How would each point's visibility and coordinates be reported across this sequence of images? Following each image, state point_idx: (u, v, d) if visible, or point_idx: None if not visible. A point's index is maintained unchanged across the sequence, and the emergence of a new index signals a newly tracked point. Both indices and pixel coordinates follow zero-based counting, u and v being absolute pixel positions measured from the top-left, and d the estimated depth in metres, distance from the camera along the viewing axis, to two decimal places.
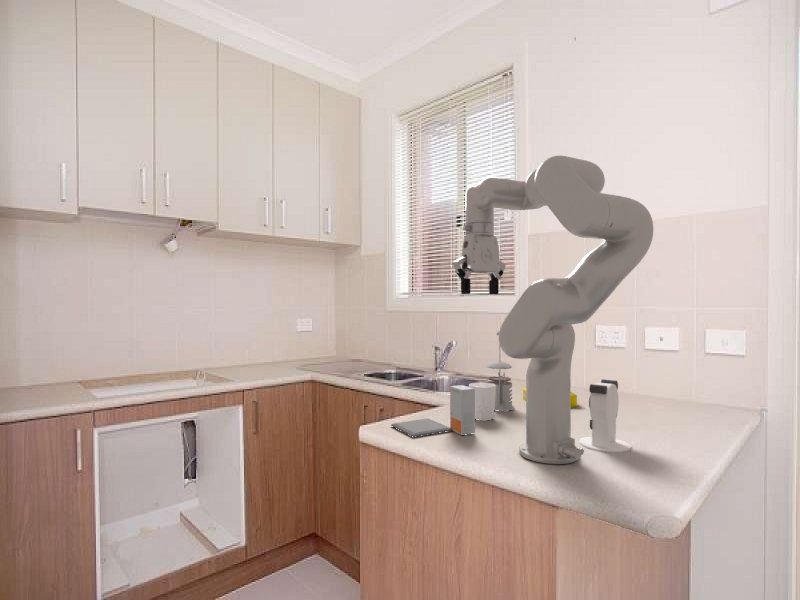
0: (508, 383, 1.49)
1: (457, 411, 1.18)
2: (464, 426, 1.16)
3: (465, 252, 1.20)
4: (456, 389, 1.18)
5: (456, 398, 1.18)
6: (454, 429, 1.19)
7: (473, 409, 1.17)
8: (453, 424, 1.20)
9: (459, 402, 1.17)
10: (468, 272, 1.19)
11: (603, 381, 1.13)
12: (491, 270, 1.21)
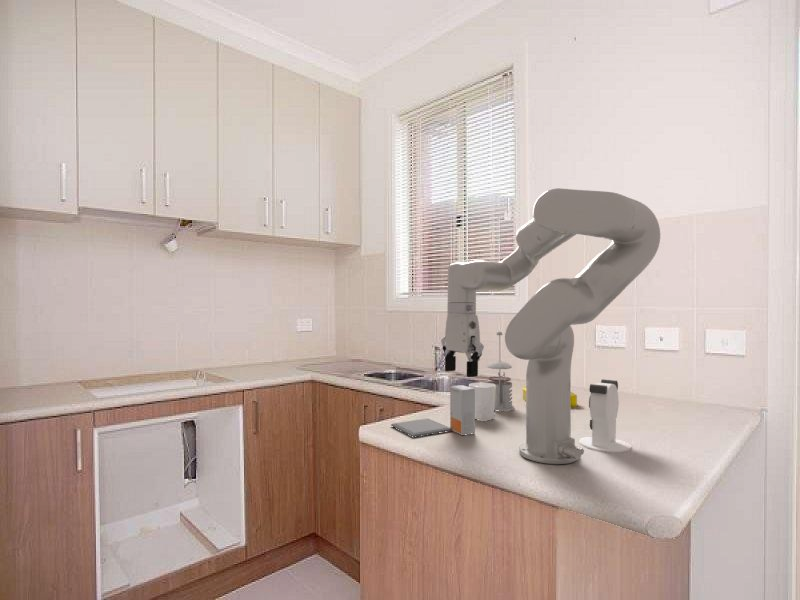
0: (508, 383, 1.49)
1: (457, 411, 1.17)
2: (464, 426, 1.16)
3: (473, 333, 1.15)
4: (456, 389, 1.18)
5: (456, 398, 1.18)
6: (454, 429, 1.19)
7: (473, 409, 1.17)
8: (453, 424, 1.20)
9: (459, 402, 1.17)
10: None
11: (603, 381, 1.13)
12: None
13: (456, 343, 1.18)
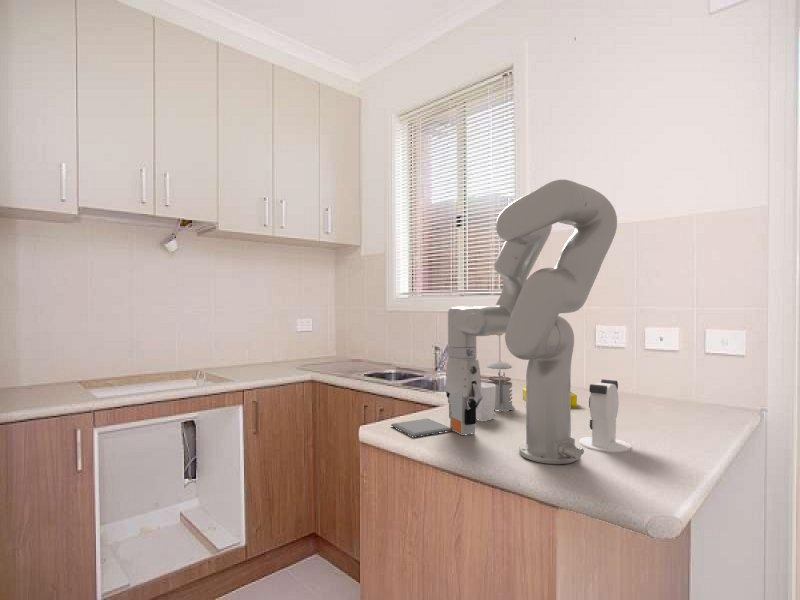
0: (508, 383, 1.49)
1: (457, 411, 1.18)
2: (464, 426, 1.16)
3: (474, 378, 1.15)
4: None
5: (456, 398, 1.18)
6: (454, 429, 1.19)
7: None
8: (453, 424, 1.20)
9: (459, 402, 1.17)
10: None
11: (603, 381, 1.13)
12: None
13: (457, 388, 1.17)
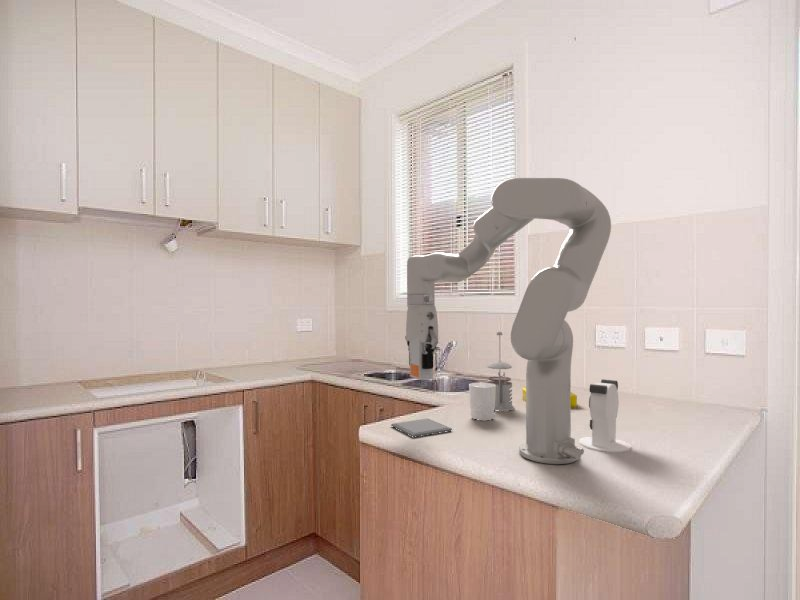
0: (508, 383, 1.49)
1: (416, 356, 1.21)
2: (422, 370, 1.20)
3: (431, 324, 1.18)
4: None
5: (414, 344, 1.21)
6: (413, 375, 1.22)
7: None
8: (412, 370, 1.23)
9: (417, 347, 1.20)
10: None
11: (603, 381, 1.13)
12: None
13: (415, 334, 1.21)
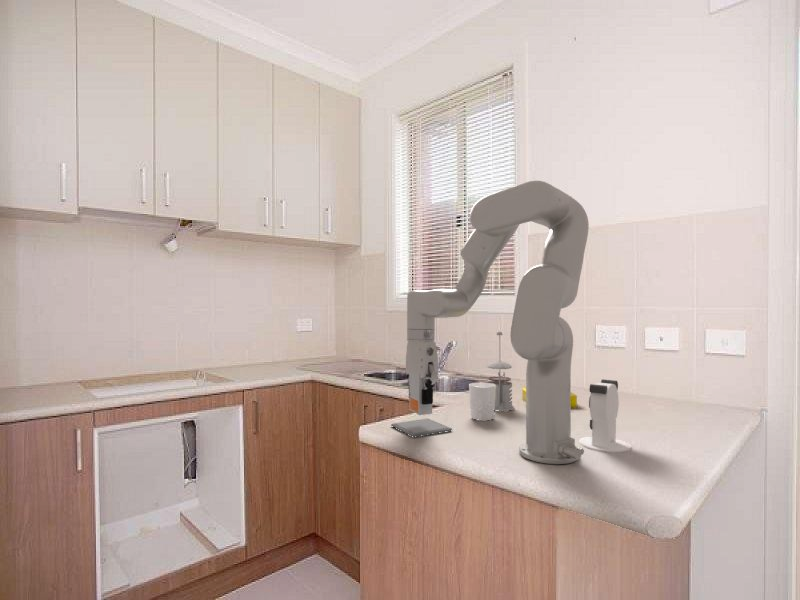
0: (508, 383, 1.49)
1: (415, 391, 1.21)
2: (421, 405, 1.20)
3: (430, 359, 1.18)
4: None
5: (414, 379, 1.21)
6: (412, 409, 1.22)
7: None
8: (411, 404, 1.23)
9: (416, 382, 1.20)
10: None
11: (603, 381, 1.13)
12: None
13: (415, 369, 1.21)
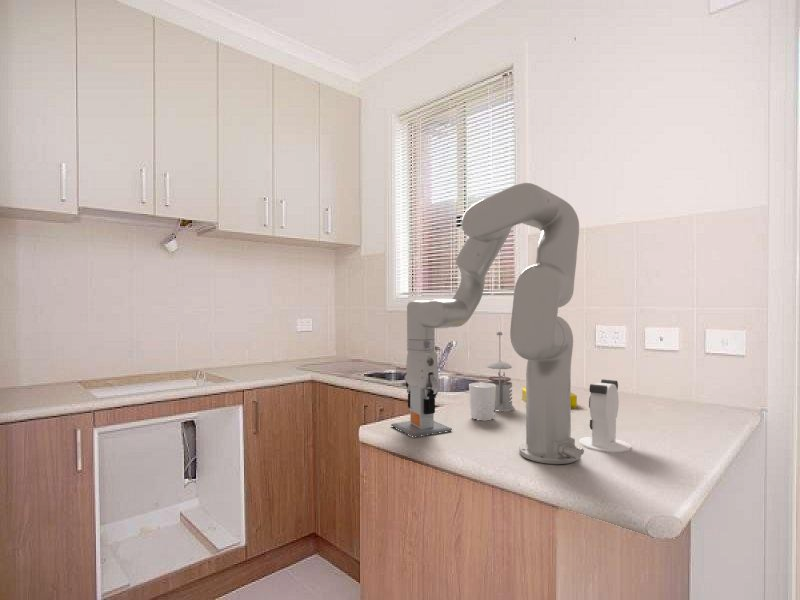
0: (508, 383, 1.49)
1: (416, 405, 1.20)
2: (423, 419, 1.19)
3: (431, 370, 1.18)
4: None
5: (415, 392, 1.21)
6: (414, 423, 1.22)
7: None
8: (413, 418, 1.22)
9: (418, 396, 1.20)
10: None
11: (603, 381, 1.13)
12: None
13: (415, 379, 1.21)
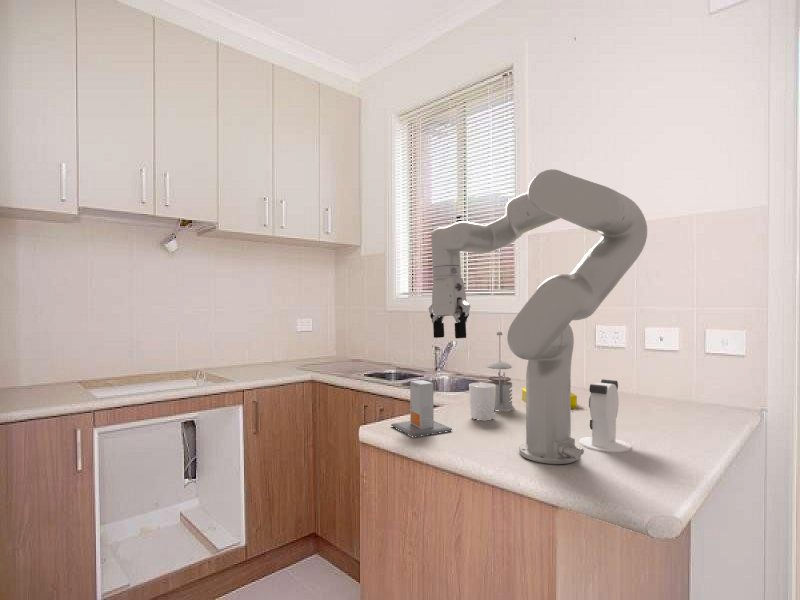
0: (508, 383, 1.49)
1: (416, 405, 1.20)
2: (423, 419, 1.19)
3: (459, 295, 1.16)
4: (415, 384, 1.21)
5: (415, 392, 1.21)
6: (414, 423, 1.22)
7: (432, 403, 1.20)
8: (413, 418, 1.22)
9: (418, 396, 1.20)
10: None
11: (603, 381, 1.13)
12: None
13: (443, 307, 1.18)
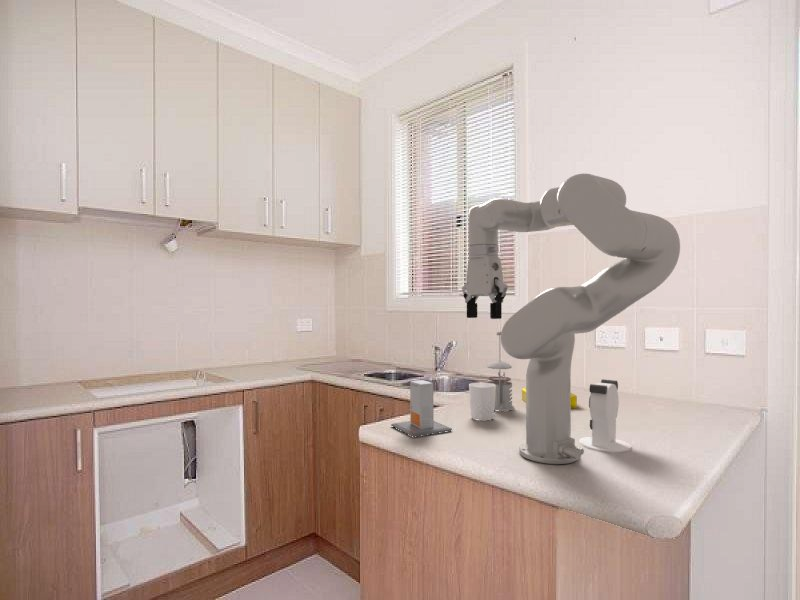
0: (508, 383, 1.49)
1: (416, 405, 1.20)
2: (423, 419, 1.19)
3: (496, 275, 1.14)
4: (415, 384, 1.21)
5: (415, 392, 1.21)
6: (414, 423, 1.22)
7: (432, 403, 1.20)
8: (413, 418, 1.22)
9: (418, 396, 1.20)
10: None
11: (603, 381, 1.13)
12: None
13: (479, 286, 1.16)
